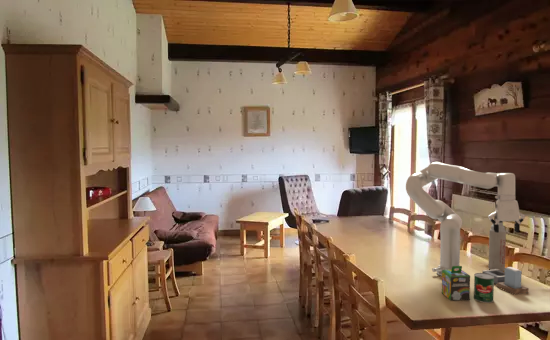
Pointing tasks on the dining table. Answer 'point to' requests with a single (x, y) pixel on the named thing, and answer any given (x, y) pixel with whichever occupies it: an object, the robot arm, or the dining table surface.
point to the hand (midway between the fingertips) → (506, 232)
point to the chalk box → (456, 284)
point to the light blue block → (513, 277)
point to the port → (496, 275)
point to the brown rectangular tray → (512, 290)
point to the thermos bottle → (497, 248)
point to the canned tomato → (483, 287)
